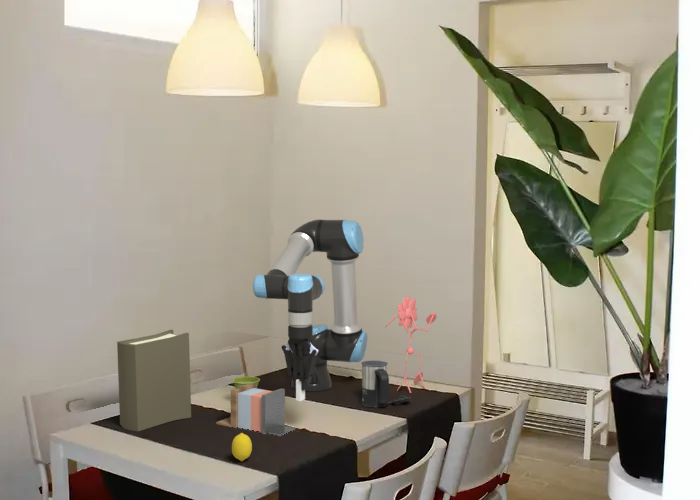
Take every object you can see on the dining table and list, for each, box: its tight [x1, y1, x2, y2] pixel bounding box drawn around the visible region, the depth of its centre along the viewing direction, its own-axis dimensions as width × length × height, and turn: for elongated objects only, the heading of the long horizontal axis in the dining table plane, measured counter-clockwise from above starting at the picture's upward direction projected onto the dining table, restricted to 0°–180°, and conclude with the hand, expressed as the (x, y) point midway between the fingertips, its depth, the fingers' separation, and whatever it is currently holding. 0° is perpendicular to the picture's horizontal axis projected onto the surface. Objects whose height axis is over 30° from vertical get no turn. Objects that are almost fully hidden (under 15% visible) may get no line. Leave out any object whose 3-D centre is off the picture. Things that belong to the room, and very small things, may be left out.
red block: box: [250, 389, 273, 433], centre depth 257 cm, size 8×5×11 cm, turn 148°
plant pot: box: [232, 376, 261, 389], centre depth 285 cm, size 9×9×9 cm
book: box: [116, 329, 192, 432], centre depth 262 cm, size 22×9×28 cm, turn 140°
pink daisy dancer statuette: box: [384, 296, 438, 394], centre depth 309 cm, size 15×26×35 cm, turn 139°
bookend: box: [260, 388, 297, 437], centre depth 254 cm, size 10×6×12 cm, turn 149°
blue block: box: [237, 387, 267, 431], centre depth 260 cm, size 8×5×11 cm, turn 149°
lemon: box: [231, 432, 253, 462], centre depth 227 cm, size 6×6×8 cm
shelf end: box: [215, 383, 256, 429], centre depth 263 cm, size 10×8×12 cm
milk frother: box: [361, 359, 412, 408], centre depth 287 cm, size 14×16×15 cm
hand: (300, 399), depth 254 cm, fingers closed
